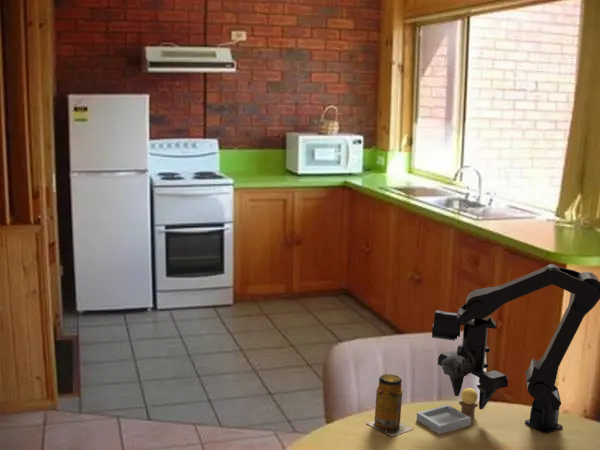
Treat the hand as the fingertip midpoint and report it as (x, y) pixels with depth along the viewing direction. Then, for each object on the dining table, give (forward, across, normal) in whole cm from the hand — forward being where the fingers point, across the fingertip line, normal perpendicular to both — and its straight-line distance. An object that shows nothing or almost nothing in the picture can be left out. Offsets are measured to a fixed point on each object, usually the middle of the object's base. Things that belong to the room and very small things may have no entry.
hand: (468, 402), depth 184 cm
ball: (-2, 0, 0) cm, 2 cm away
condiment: (+4, -4, -22) cm, 22 cm away
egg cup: (+3, 0, 0) cm, 3 cm away
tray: (+3, 0, -8) cm, 9 cm away
